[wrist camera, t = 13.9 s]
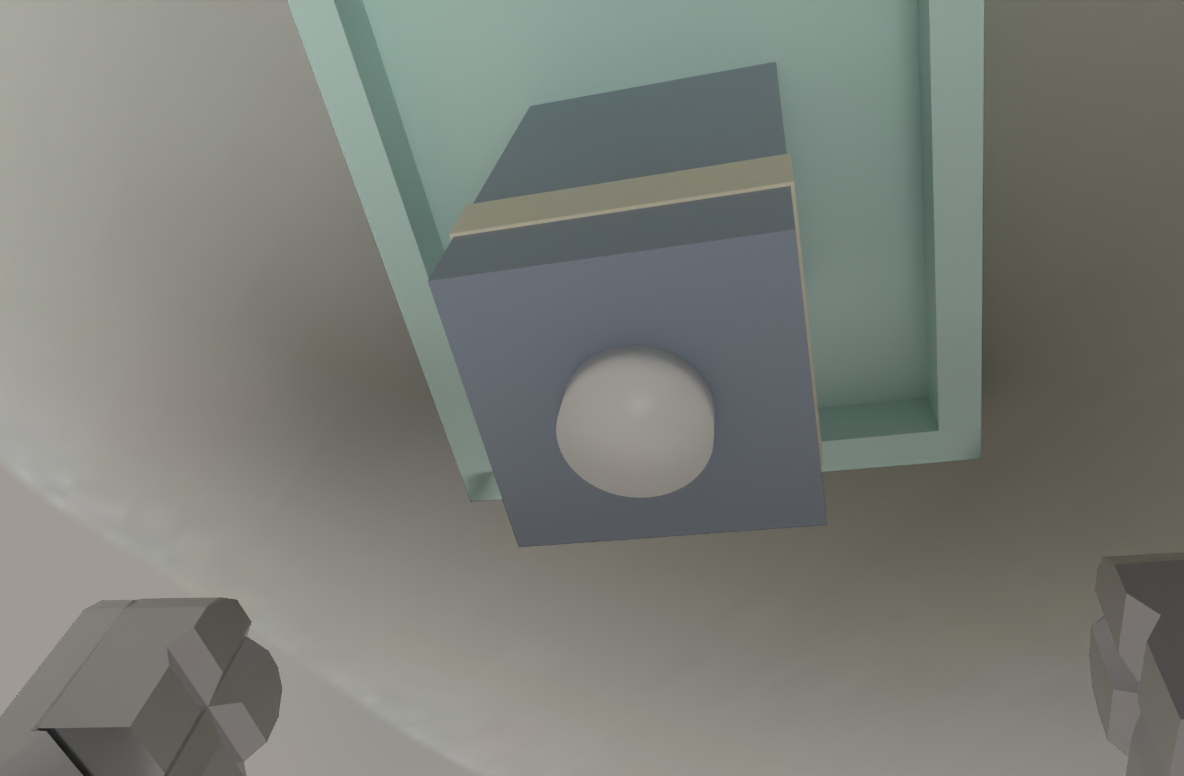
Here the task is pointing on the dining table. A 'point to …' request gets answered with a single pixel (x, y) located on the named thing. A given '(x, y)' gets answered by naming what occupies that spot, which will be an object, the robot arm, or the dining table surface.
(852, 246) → the tray
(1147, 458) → the dining table surface
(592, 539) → the module
